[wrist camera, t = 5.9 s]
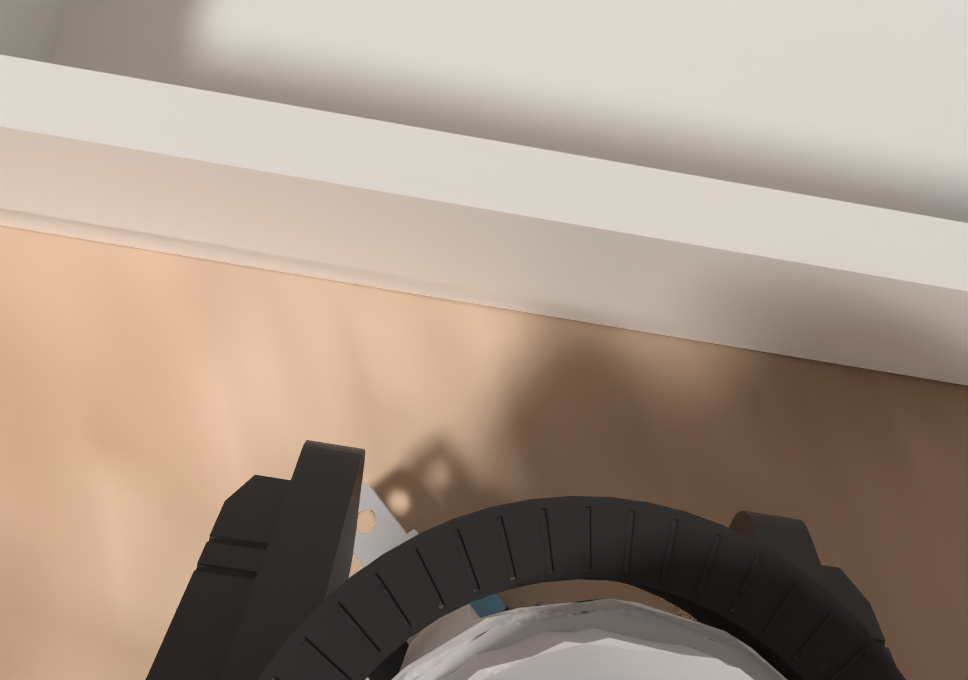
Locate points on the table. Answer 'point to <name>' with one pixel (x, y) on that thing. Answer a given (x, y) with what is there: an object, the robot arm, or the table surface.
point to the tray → (526, 156)
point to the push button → (575, 603)
